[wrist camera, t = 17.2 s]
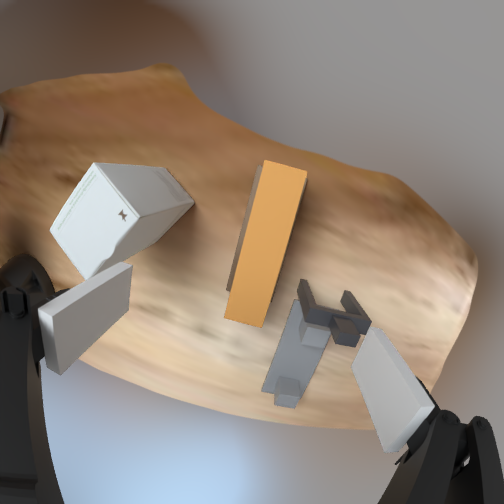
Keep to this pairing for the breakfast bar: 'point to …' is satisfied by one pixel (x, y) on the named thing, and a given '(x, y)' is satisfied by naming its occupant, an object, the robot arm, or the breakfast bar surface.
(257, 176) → the rest
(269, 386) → the clip mount
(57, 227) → the skincare box
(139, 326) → the breakfast bar surface
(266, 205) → the orange tapered block
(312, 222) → the breakfast bar surface
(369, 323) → the grey gate frame
